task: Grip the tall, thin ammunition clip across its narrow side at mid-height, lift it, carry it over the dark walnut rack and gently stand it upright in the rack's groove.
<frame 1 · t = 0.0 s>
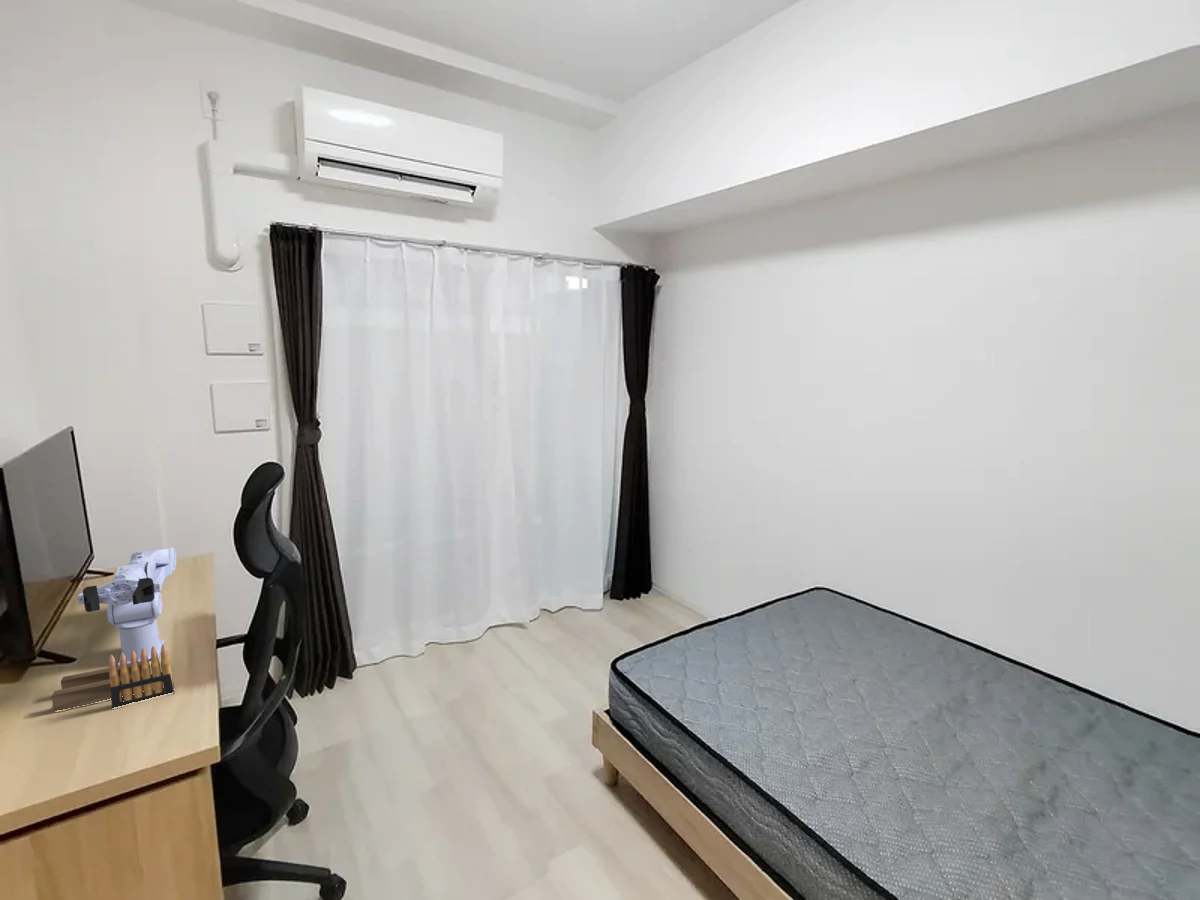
hand: (112, 603, 123), 22 cm above the table, tool horizontal, fingers open, 7 cm apart
walnut rack: (105, 693, 127), on the table
ammunition clip: (144, 700, 125), on the table
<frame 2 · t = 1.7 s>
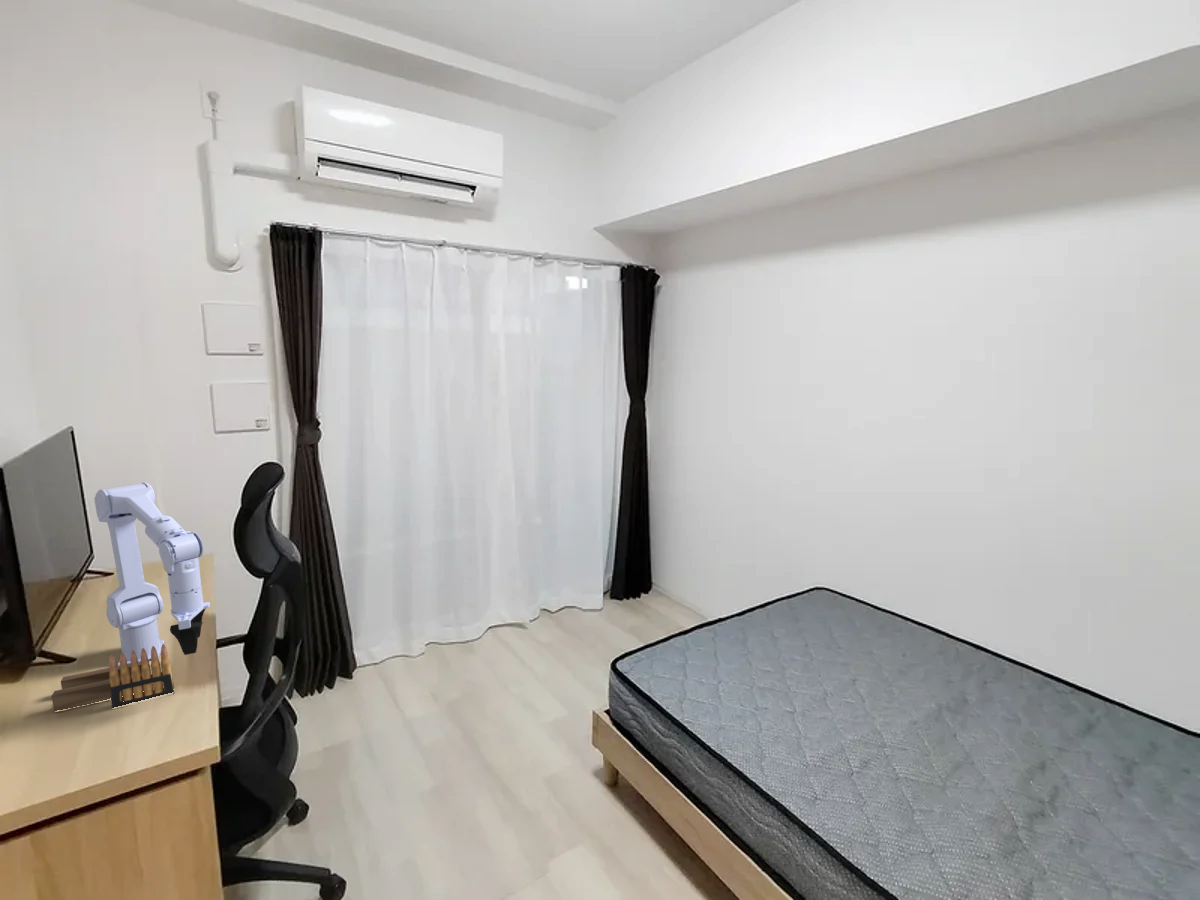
hand: (192, 645, 128), 10 cm above the table, tool pointing down, fingers open, 7 cm apart
nothing on the table moved.
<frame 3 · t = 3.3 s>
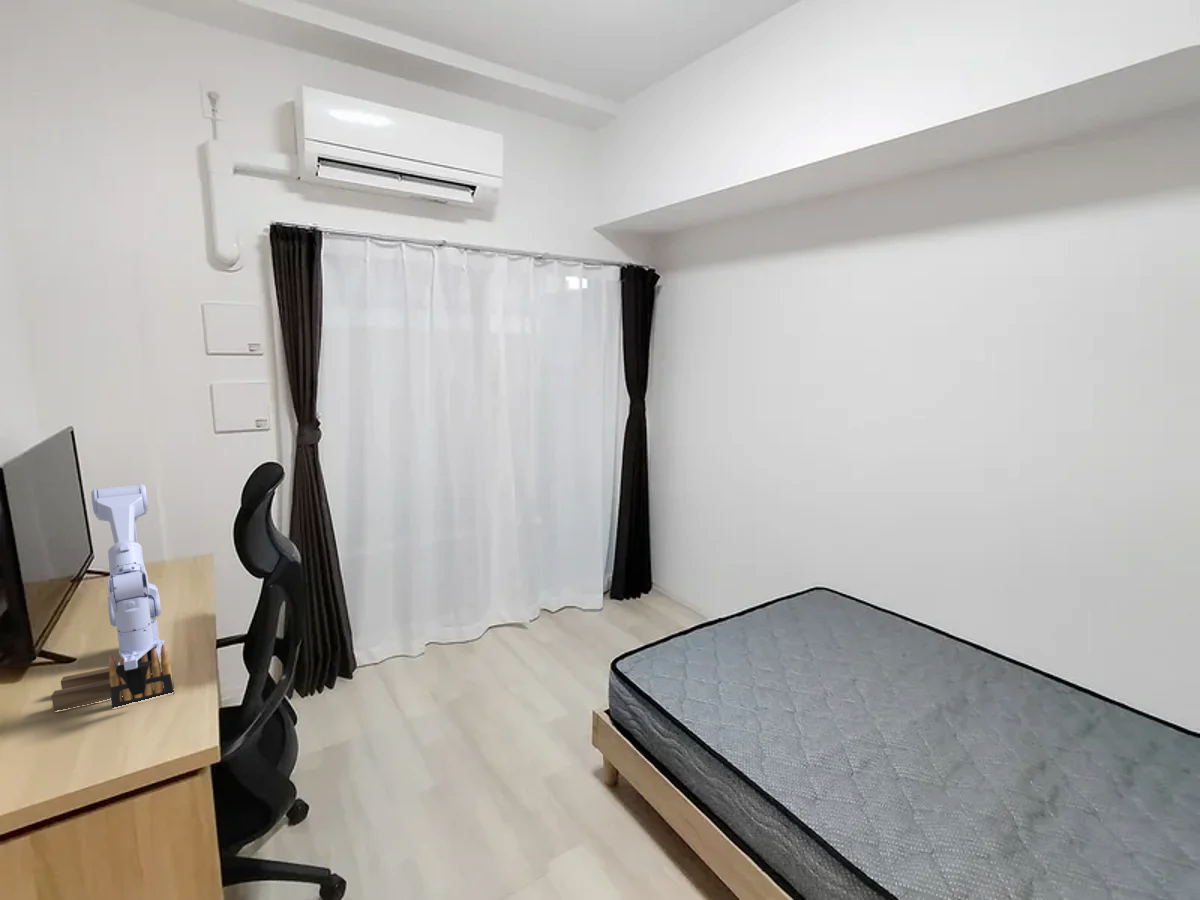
hand: (142, 684, 124), 4 cm above the table, tool pointing down, fingers open, 7 cm apart
nothing on the table moved.
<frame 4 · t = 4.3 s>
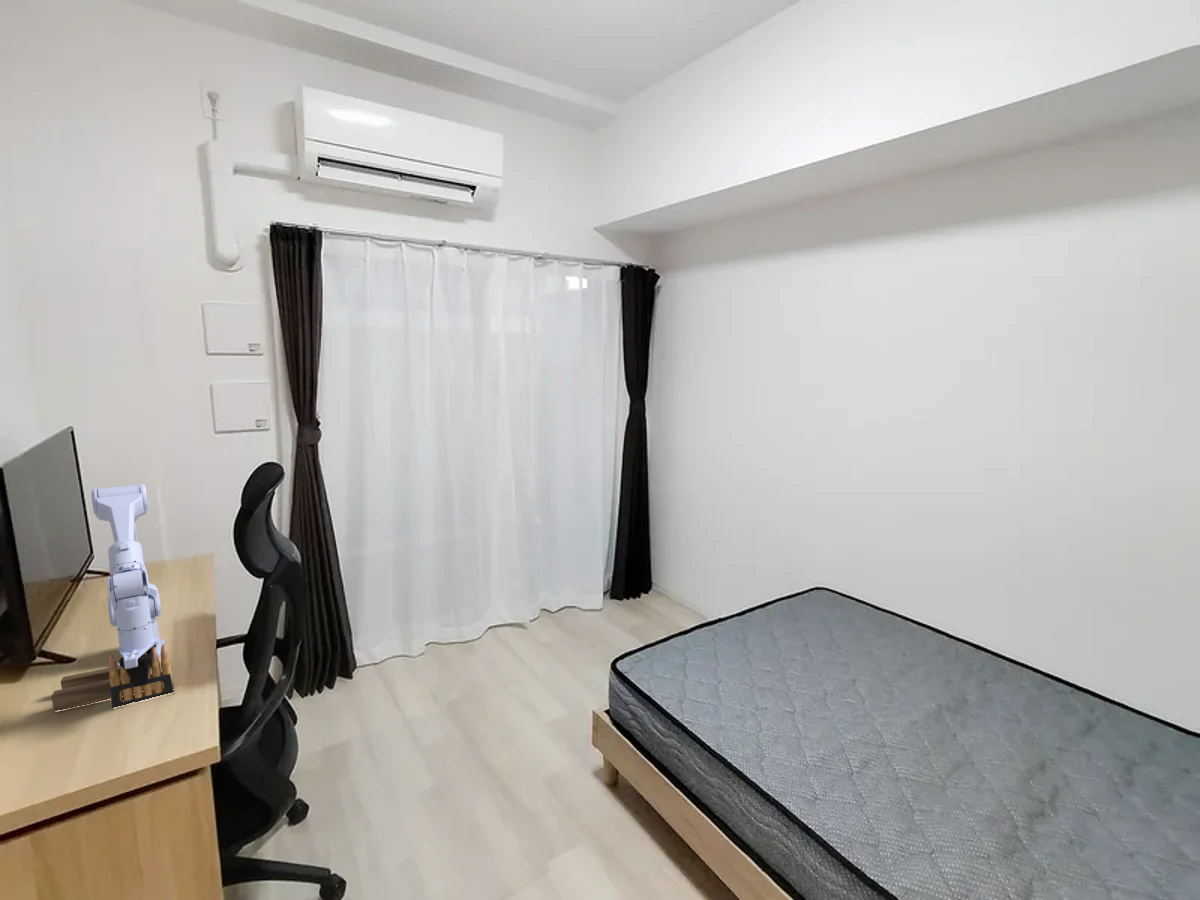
hand: (142, 682, 125), 4 cm above the table, tool pointing down, fingers closed on ammunition clip, 2 cm apart
ammunition clip: (144, 700, 125), on the table, touching gripper
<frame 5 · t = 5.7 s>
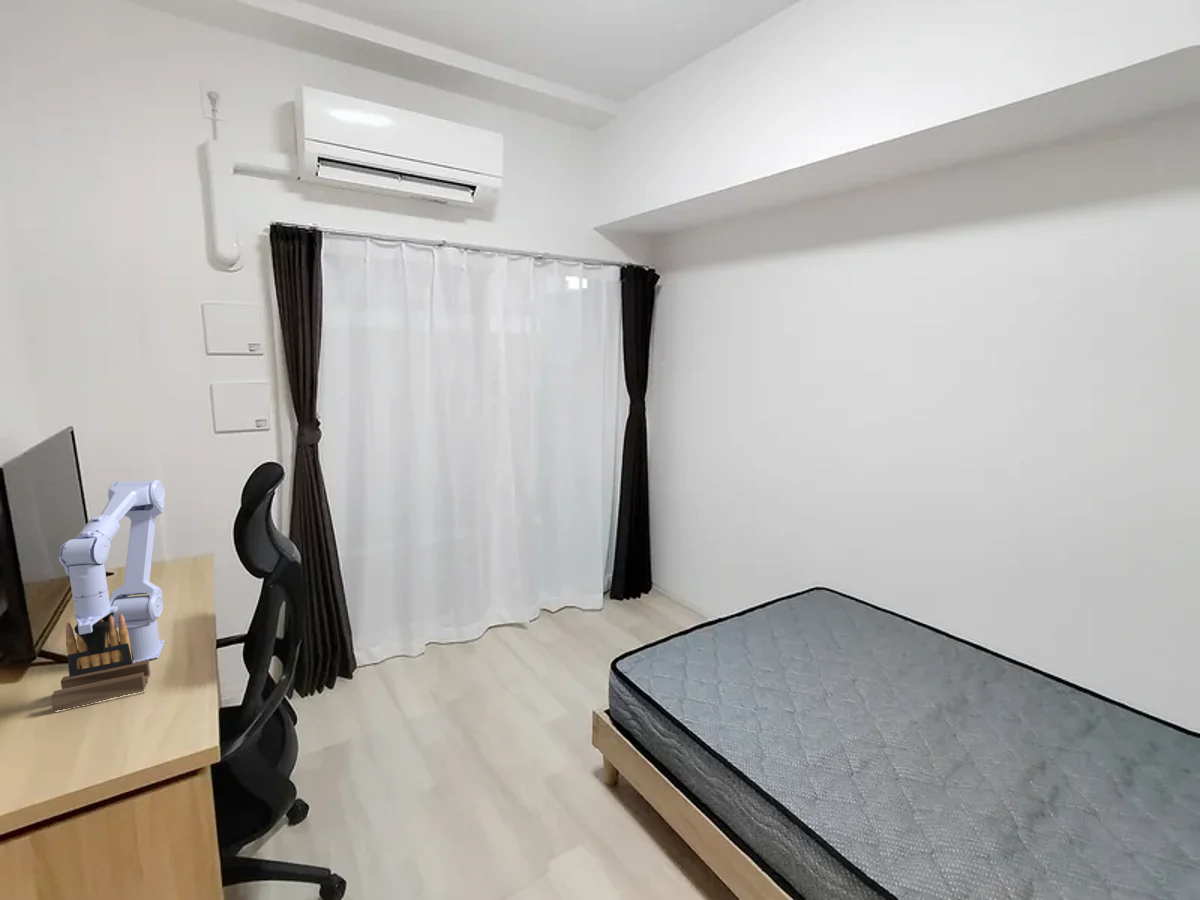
hand: (99, 650, 125), 10 cm above the table, tool pointing down, fingers closed on ammunition clip
ammunition clip: (102, 669, 126), point 6 cm above the table, touching gripper
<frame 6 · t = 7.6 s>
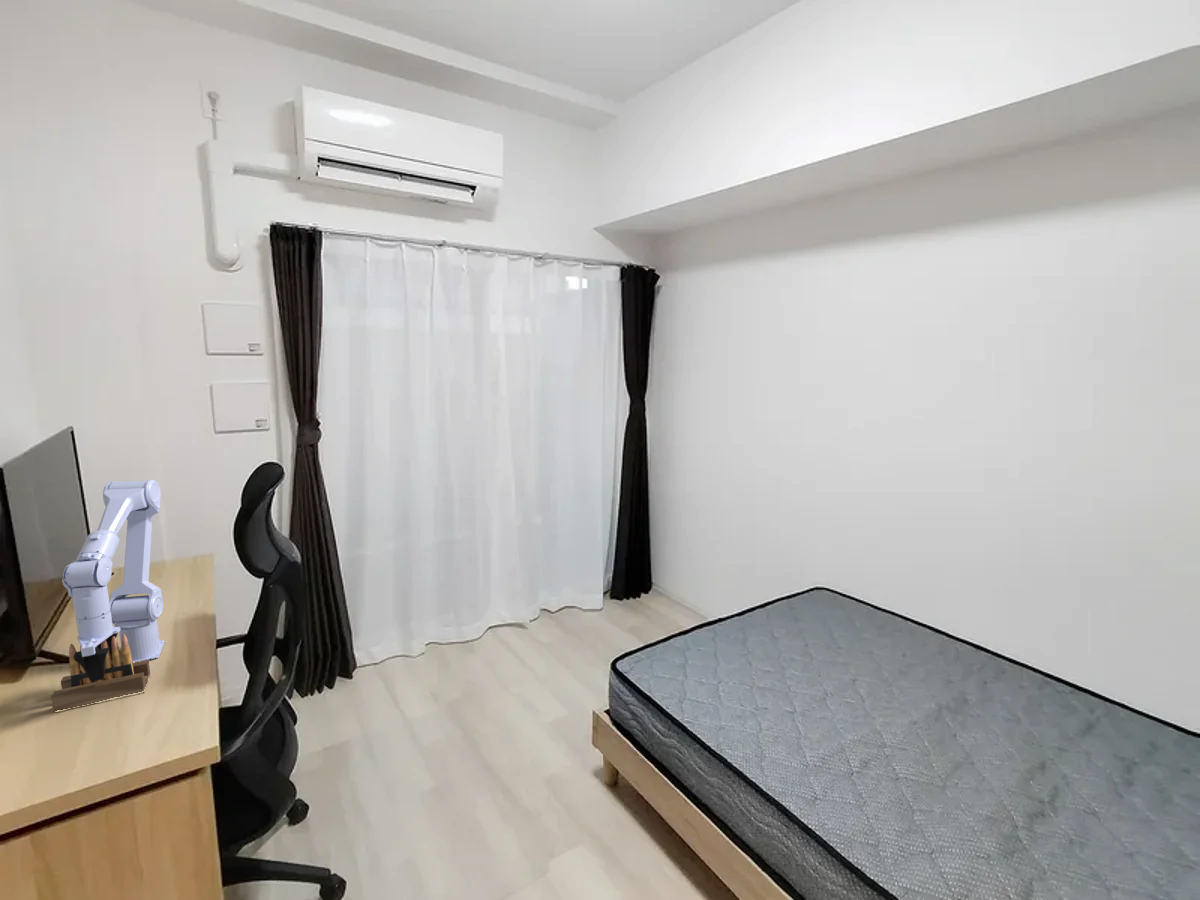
hand: (101, 670, 126), 5 cm above the table, tool pointing down, fingers open, 7 cm apart
ammunition clip: (105, 689, 127), point 1 cm above the table, touching walnut rack
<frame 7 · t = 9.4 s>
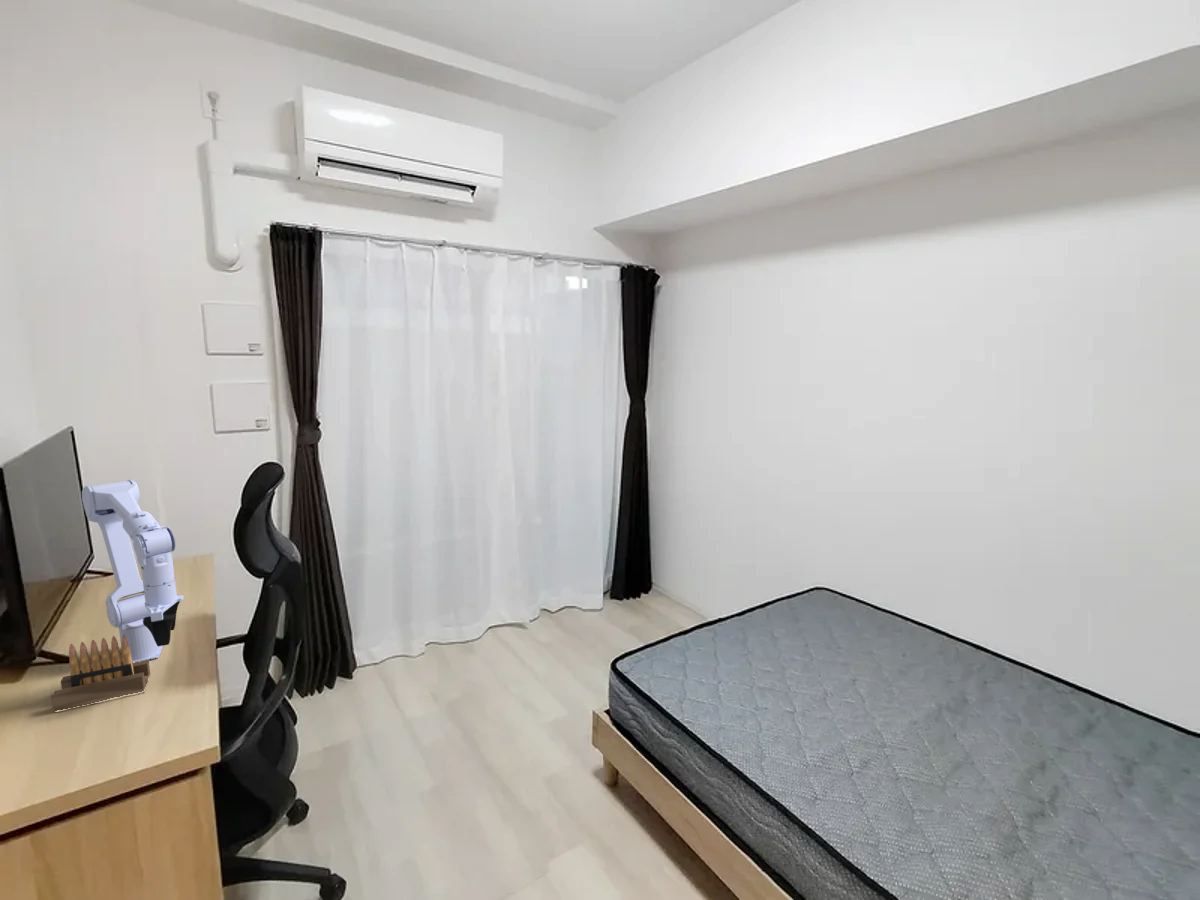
hand: (166, 637, 131), 10 cm above the table, tool pointing down, fingers open, 7 cm apart
nothing on the table moved.
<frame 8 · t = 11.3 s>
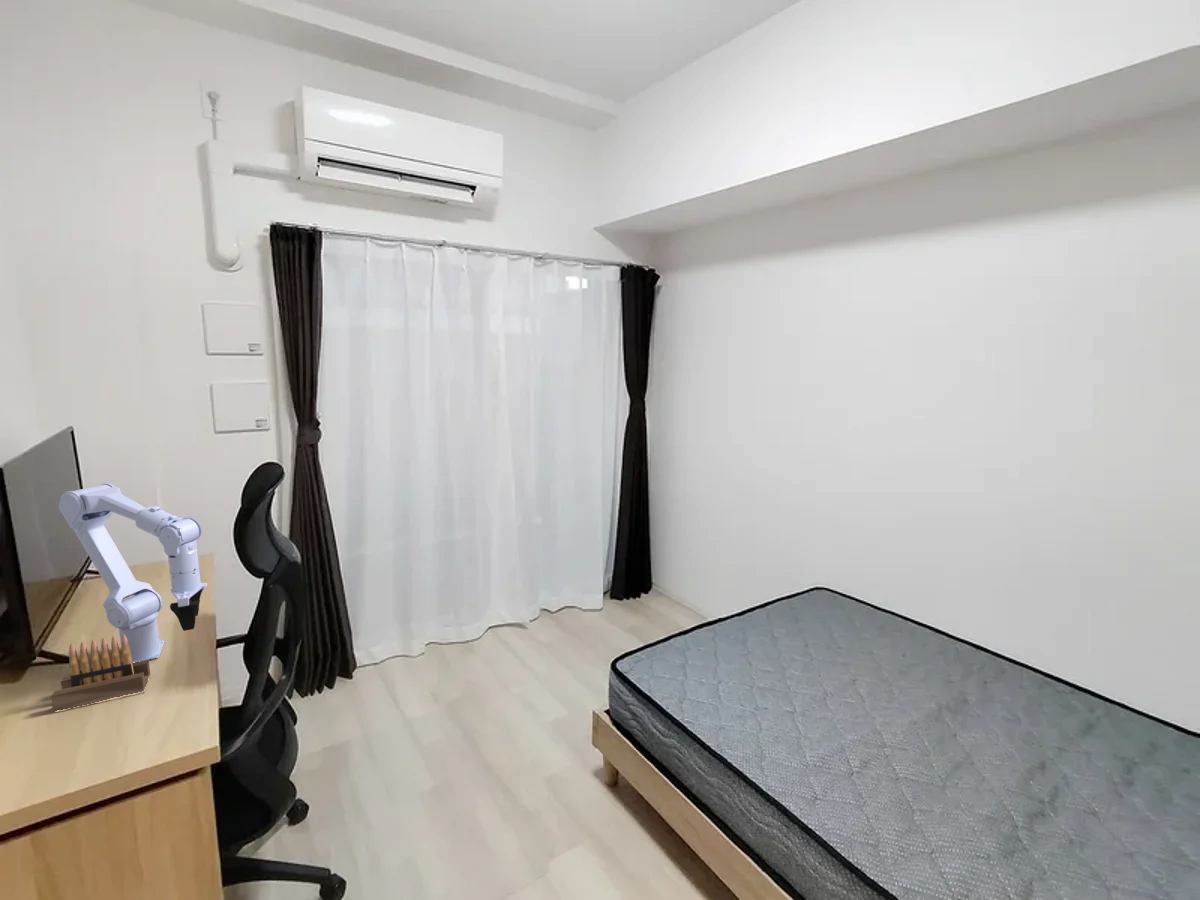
hand: (190, 622, 138), 10 cm above the table, tool pointing down, fingers open, 7 cm apart
nothing on the table moved.
at the end: ammunition clip 0.1 cm off-centre on the walnut rack, point 0.8 cm above the walnut rack's base; ammunition clip tilted 0°; the gripper is holding nothing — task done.
